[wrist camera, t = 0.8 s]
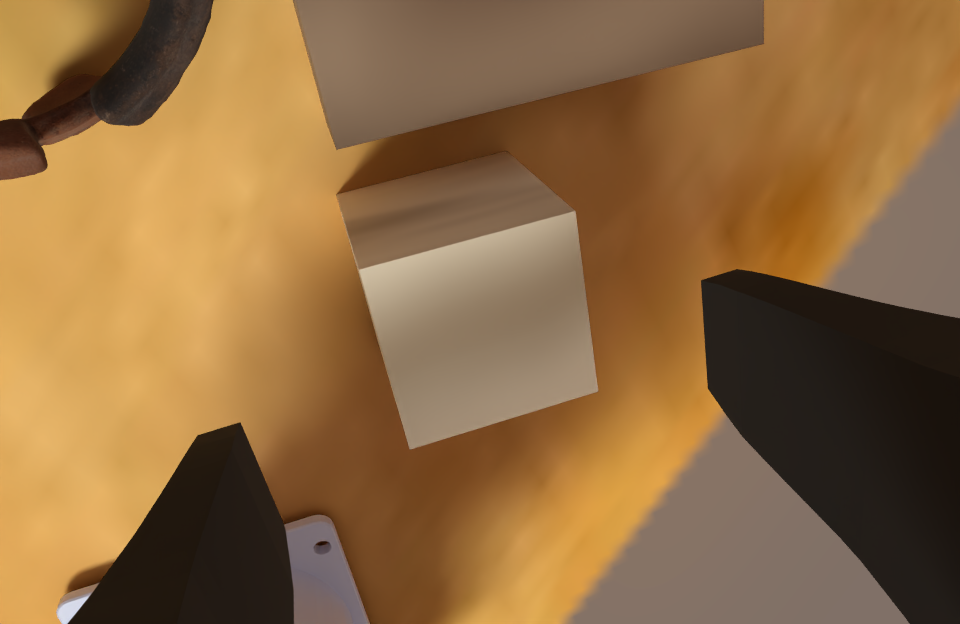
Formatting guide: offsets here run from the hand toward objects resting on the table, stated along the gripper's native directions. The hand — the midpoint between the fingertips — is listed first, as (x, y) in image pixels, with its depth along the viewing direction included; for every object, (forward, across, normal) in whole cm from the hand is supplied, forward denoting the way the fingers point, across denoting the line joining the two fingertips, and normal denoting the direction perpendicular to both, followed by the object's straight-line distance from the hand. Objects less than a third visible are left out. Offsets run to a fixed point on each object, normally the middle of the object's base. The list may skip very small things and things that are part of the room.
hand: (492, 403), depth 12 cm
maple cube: (+10, -1, +2) cm, 10 cm away
